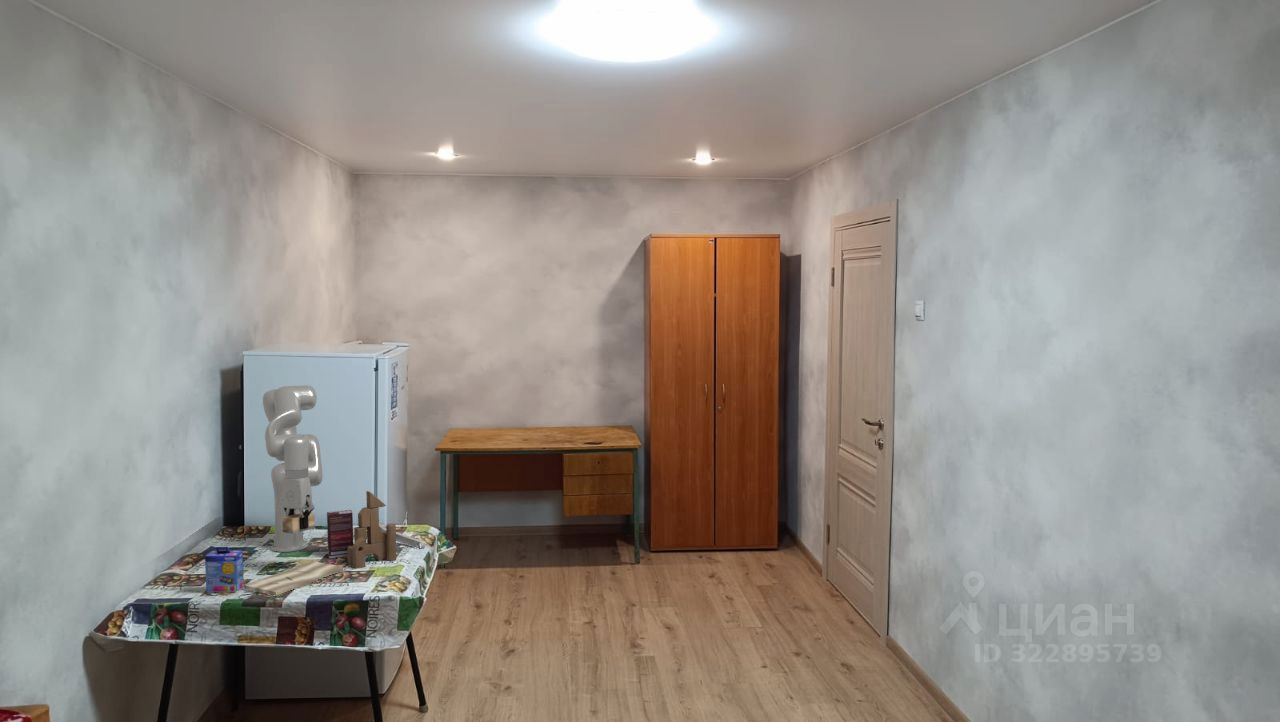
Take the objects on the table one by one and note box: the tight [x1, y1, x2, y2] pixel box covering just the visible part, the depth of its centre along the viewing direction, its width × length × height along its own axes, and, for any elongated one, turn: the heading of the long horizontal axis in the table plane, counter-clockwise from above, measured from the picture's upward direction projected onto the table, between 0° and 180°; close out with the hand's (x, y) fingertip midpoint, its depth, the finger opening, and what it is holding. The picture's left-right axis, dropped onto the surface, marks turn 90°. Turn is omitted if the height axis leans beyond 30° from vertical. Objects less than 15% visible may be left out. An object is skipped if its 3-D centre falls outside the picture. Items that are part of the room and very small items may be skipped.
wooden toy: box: [347, 490, 397, 569], centre depth 302 cm, size 15×7×25 cm, turn 132°
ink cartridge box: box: [204, 546, 245, 594], centre depth 273 cm, size 10×6×14 cm, turn 95°
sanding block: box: [282, 512, 316, 534], centre depth 293 cm, size 5×9×5 cm, turn 151°
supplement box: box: [326, 509, 354, 559], centre depth 310 cm, size 9×5×16 cm, turn 113°
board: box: [243, 560, 344, 597], centre depth 284 cm, size 14×28×2 cm, turn 154°
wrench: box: [379, 521, 426, 550], centre depth 327 cm, size 8×2×30 cm
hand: (298, 527), depth 293 cm, fingers closed on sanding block, 5 cm apart
